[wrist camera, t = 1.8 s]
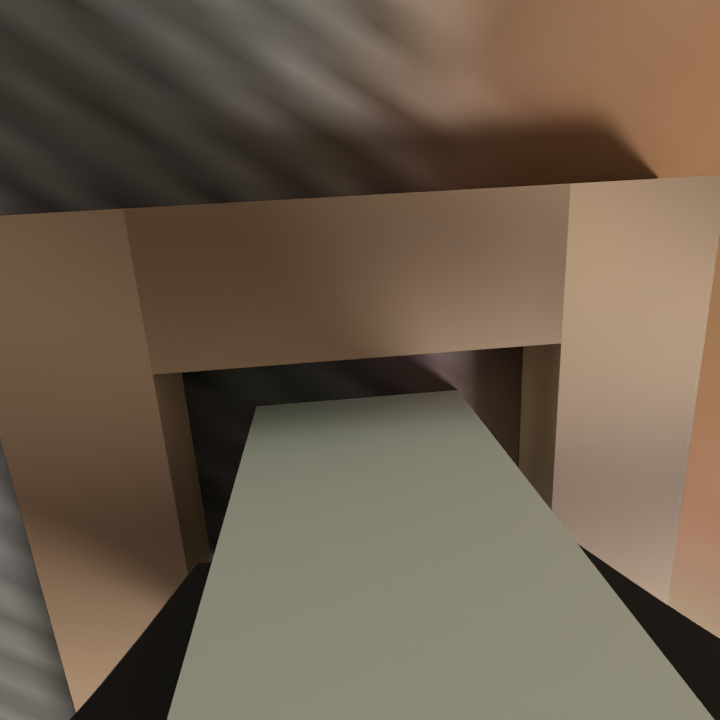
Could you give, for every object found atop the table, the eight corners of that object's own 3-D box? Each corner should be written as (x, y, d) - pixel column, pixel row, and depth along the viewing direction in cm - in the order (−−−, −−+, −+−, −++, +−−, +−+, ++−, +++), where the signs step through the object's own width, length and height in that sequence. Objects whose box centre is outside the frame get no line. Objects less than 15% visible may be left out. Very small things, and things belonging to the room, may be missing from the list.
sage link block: (457, 577, 12) (724, 1265, 4) (279, 596, 12) (210, 1368, 4) (457, 389, 10) (843, 885, 3) (256, 406, 10) (87, 998, 3)
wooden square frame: (607, 690, 13) (646, 754, 12) (132, 748, 12) (107, 825, 11) (661, 179, 10) (727, 174, 8) (5, 216, 9) (-61, 218, 7)
